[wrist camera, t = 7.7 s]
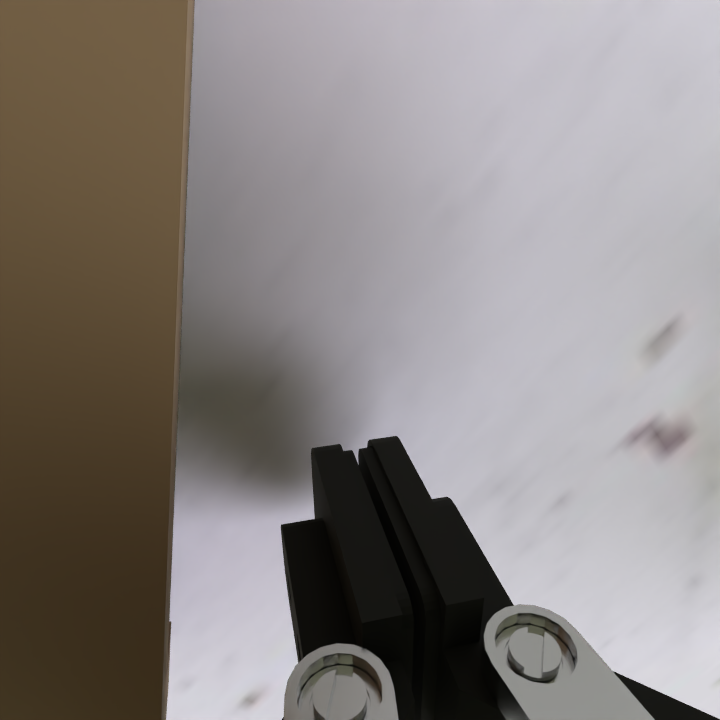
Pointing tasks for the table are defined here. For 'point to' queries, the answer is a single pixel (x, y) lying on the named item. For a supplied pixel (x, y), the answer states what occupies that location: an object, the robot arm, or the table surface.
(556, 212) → the table surface
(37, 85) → the gate
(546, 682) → the robot arm
